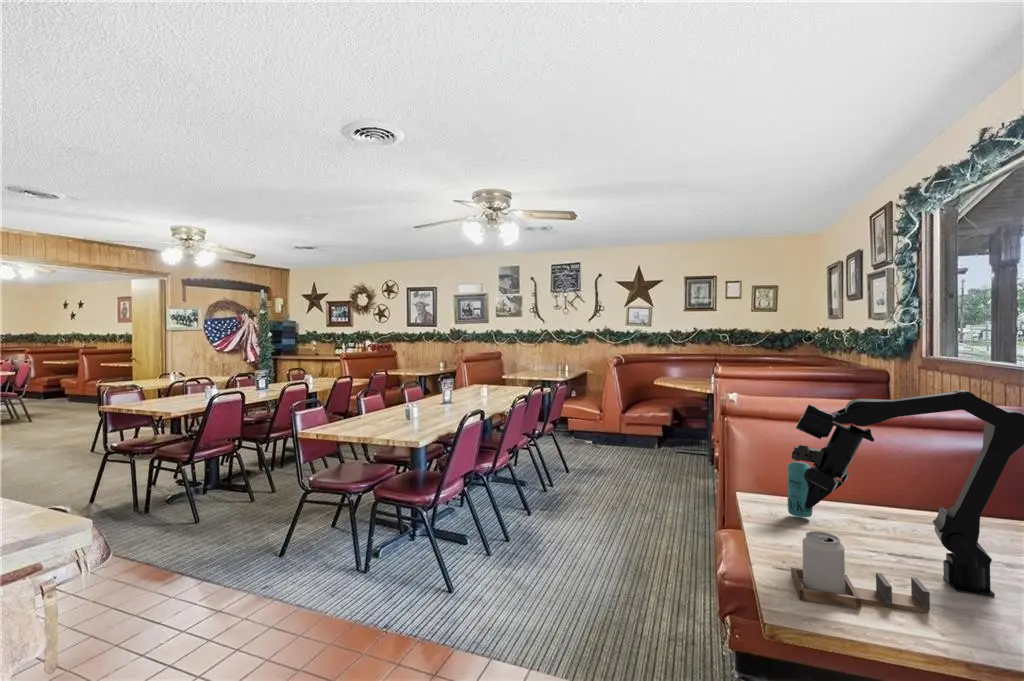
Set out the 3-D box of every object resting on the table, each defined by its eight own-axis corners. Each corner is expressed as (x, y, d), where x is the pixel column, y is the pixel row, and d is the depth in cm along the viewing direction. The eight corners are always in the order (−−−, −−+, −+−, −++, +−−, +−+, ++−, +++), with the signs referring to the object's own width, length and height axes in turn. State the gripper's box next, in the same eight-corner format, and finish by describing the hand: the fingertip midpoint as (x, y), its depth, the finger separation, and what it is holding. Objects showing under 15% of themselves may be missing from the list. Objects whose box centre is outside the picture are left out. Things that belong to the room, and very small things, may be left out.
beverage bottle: (789, 513, 150) (788, 448, 151) (815, 518, 146) (813, 451, 146) (785, 519, 145) (784, 452, 145) (811, 524, 141) (810, 455, 141)
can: (844, 606, 98) (843, 546, 98) (800, 594, 103) (800, 537, 103) (846, 590, 104) (845, 534, 104) (805, 580, 108) (804, 526, 109)
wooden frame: (913, 593, 102) (912, 573, 102) (935, 620, 92) (934, 597, 92) (791, 576, 110) (790, 557, 110) (799, 599, 100) (799, 578, 100)
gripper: (813, 429, 128) (787, 481, 132) (796, 434, 115) (767, 491, 118) (861, 451, 121) (832, 505, 124) (848, 459, 108) (816, 519, 111)
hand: (811, 504), depth 120 cm, fingers open, 9 cm apart
